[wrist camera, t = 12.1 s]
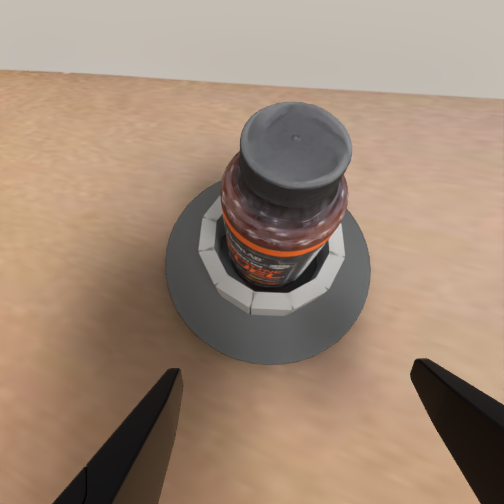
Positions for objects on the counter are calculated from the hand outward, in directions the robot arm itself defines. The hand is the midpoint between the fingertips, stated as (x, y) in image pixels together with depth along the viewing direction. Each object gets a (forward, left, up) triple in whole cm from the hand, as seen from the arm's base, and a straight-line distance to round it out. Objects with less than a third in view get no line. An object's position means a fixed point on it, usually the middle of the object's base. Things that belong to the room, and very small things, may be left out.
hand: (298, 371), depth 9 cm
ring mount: (+3, +7, -8) cm, 11 cm away
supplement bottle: (+3, +7, -8) cm, 11 cm away
